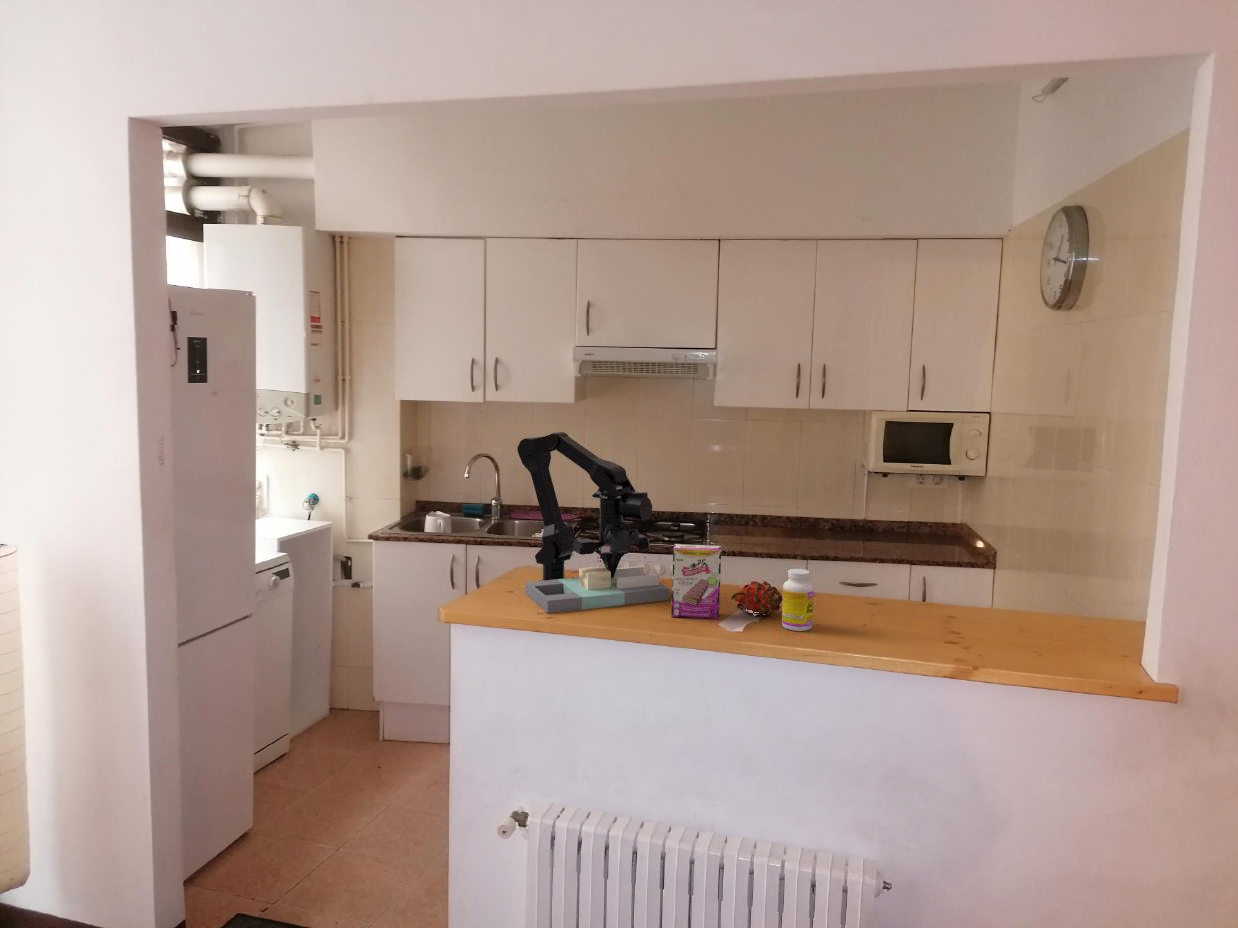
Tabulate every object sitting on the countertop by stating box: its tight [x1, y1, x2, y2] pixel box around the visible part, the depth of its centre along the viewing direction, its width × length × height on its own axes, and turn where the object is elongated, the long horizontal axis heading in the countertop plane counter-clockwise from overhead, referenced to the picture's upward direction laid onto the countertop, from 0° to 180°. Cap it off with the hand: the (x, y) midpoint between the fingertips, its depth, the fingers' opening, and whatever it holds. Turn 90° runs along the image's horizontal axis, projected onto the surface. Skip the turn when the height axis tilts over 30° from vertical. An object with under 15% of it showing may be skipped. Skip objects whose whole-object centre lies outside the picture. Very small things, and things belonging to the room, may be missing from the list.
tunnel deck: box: [524, 565, 670, 614], centre depth 216 cm, size 18×32×6 cm, turn 113°
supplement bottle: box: [781, 568, 814, 632], centre depth 193 cm, size 7×7×13 cm
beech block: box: [578, 566, 611, 590], centre depth 215 cm, size 6×6×4 cm
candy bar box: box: [670, 543, 722, 620], centre depth 201 cm, size 11×5×16 cm, turn 84°
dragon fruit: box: [730, 580, 783, 616], centre depth 203 cm, size 8×8×12 cm
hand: (611, 577), depth 217 cm, fingers closed
